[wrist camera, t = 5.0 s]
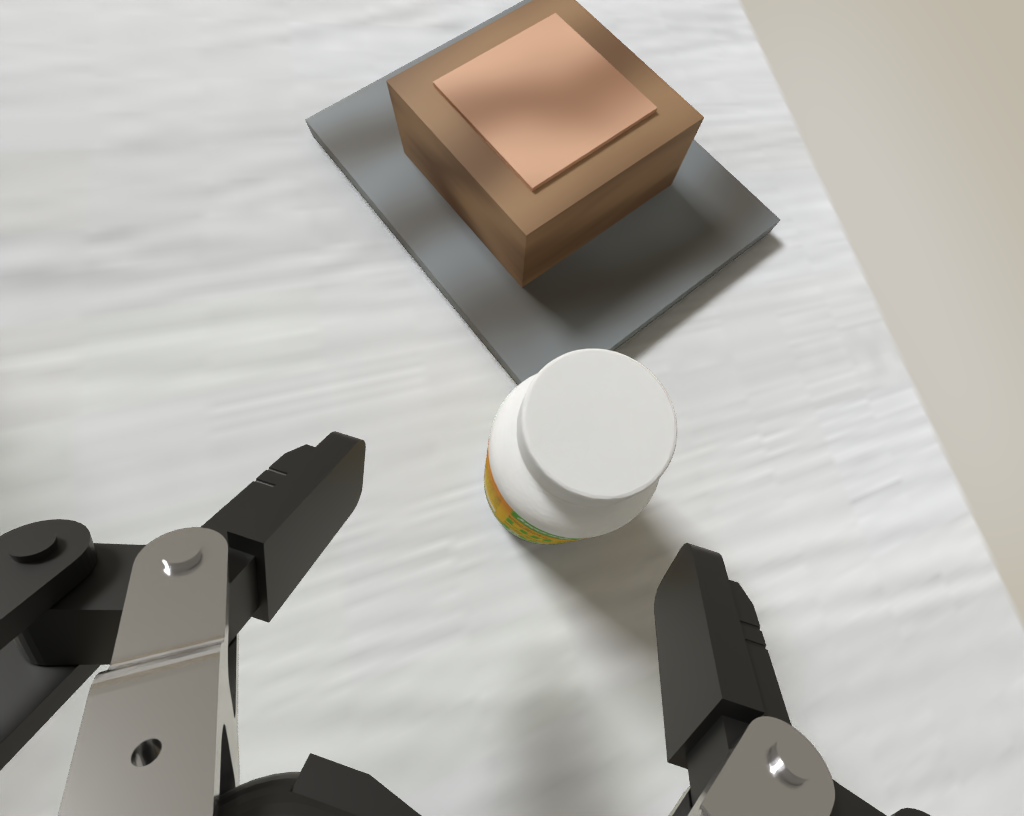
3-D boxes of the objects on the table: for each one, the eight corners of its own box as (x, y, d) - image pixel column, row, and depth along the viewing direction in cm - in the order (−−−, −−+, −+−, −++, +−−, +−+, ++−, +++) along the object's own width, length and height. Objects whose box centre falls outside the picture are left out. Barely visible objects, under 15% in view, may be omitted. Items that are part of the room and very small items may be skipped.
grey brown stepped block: (312, 135, 26) (266, 38, 21) (535, 11, 28) (542, -101, 23) (537, 408, 22) (547, 369, 17) (769, 232, 25) (838, 154, 20)
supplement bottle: (484, 547, 19) (494, 537, 10) (482, 425, 21) (489, 321, 12) (608, 543, 20) (724, 528, 11) (597, 423, 22) (689, 323, 12)
